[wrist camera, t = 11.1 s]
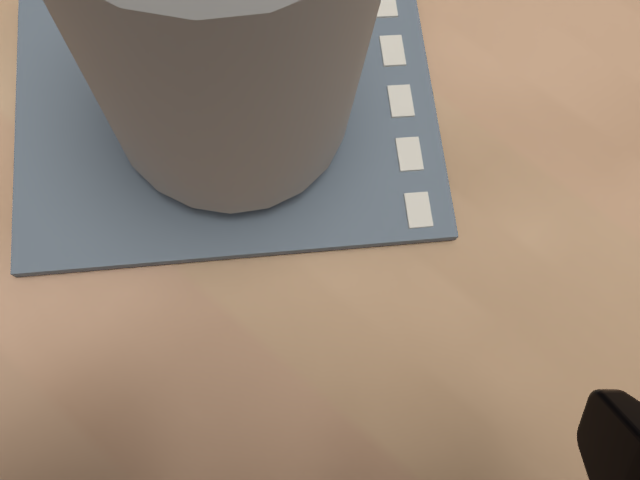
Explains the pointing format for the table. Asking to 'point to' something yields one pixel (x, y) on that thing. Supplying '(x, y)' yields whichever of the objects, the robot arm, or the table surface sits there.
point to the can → (222, 89)
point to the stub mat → (210, 226)
